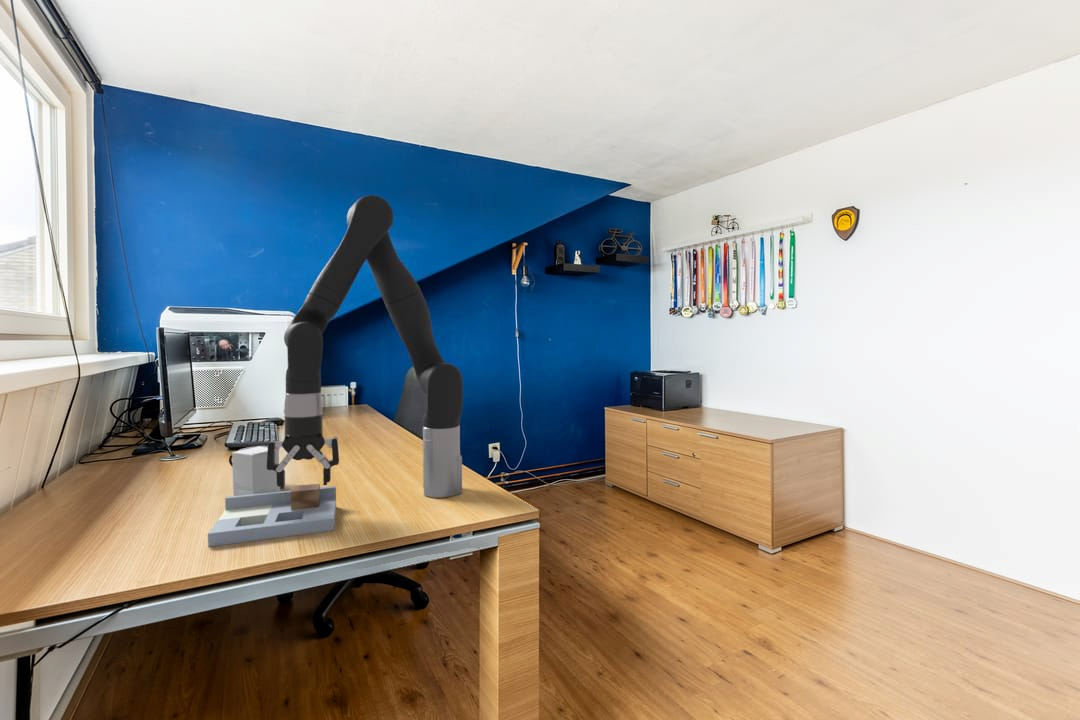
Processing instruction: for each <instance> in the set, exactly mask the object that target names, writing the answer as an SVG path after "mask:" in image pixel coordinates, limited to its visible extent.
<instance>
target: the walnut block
mask: <svg viewBox="0 0 1080 720" xmlns="http://www.w3.org/2000/svg"><path fill="white" fill-rule="evenodd" d="M320 487H321V483H311V484H300V485H293V486H292V488H291V489H290V490H291V510H299V509H308V508H317V507H319V505H320Z"/></svg>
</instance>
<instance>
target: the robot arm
mask: <svg viewBox="0 0 1080 720" xmlns="http://www.w3.org/2000/svg"><path fill="white" fill-rule="evenodd" d="M393 222H394V211H393V209H392V206H391V205H390V203H389V202H388V201H387V200H386V199H384V197H381V196H379V195H375V194H374V195H373V194H371V195H370V194H369V195H365V196H362V197H359V198H358V199H357V200H356V201H355V202H354V203H353V204H352V205H351V207H350V208H349V209H348V212H347V215H346V223H347V229H346V231H345V234H344V236H343V238H342V240H341V242H340V244H339V245H338V247H337V248H336V250H335V251H334V253H333V255H332V256H331V257H330V258H329V260H328V262H327V263H326V265H325V266H323V269H322V270H321V272H319V275H318V276H317V278H316V279H315V281H314V282H313V285H312V286H311V288H310V290H309V292H308V293H307V295H306V297H305V300H304V301H303V304H302V306H301V307H300V309H299V310H298V311H297V313H296V314H295V316H294V317H293V319H292V320H291V322H289V325H288V326H287V328H286V330H285V331H284V332H285V333H284V335H283V341H284V344H285V346H286V348H287V369H286V371H285V399H284V403H283V404H284V405H283V406H284V407H283V408H284V409H283V413H284V439H283V441H279V440H277V441H276V440H274V439H272V440H270V441H269V442H268V444H267V446H268V452H267V469H268V470H274V471H276V473H277V486H278V487H280V490H284V489H286V470H285V468H286V467H287V465H288V464H289V463H290V462H291V460H295V461H301V460H312V459H314V458H315V459H316V461H318V463H320V464H321V465H322V466H323V472H322V473H323V474H322V475H323V478H322V480H323V481H322V483H323V484H322V485H323V486H328V483H330V481H331V473H332V472H331V468H333V467H335V466H338V465H339V463H340V456H339V455H340V454H339V441H338V440H339V439H338V437H337V436H332V438H324V435H323V433H324V432H323V399H322V375H321V374H322V373H321V367H322V366H321V365H322V361H323V351H324V350H323V349H324V338H323V333H324V332H325V330H326V328H327V326H328V324H329V323H330V321H331V320H332V319H333V318H335V316H336V315H337V313H338V312H339V310H340V308H341V307H342V304H343V303H344V301H345V299H346V298H347V296H348V294H349V292H350V290H351V288H352V286H353V283H354V282H355V280H356V278H357V276H358V274H359V272H360V270H361V268H362V267H363V265H364V263H365V261H367V264H368V265H369V268H370V270H371V273H372V276H373V278H374V281H375V284H376V286H377V288H378V290H379V293H380V295H381V297H382V298H381V299H382V300H383V303H384V305H385V308H386V310H387V312H388V314H389V316H390V319H391V321H392V323H393V325H394V326H395V328H396V331H397V333H398V335H399V338H400V339H401V341H402V343H403V344H404V347H405V348H406V351H407V353H408V355H409V358H410V361H411V363H412V366H413V370H414V372H415V376H416V379H417V382H418V385H419V388H420V389H421V391H422V392H423V393H424V394H425V395H427V397H426V404H427V405H426V411H425V413H424V414H423V417H422V458H423V460H422V461H423V464H422V465H423V466H422V467H423V475H422V476H423V477H422V478H423V479H422V480H423V495H424V496H426V497H428V498H434V499H435V498H437V499H439V498H449V497H454V496H456V495H459V494H462V493H463V458H462V455H461V439H460V437H461V435H460V434H461V432H460V431H461V430H460V429H461V426H460V425H461V423H460V422H461V417H462V414H463V403H464V381H463V376H462V375H463V374H462V373H461V371H460V369H459V368H458V367H457V366H455V365H453V364H452V363H446V362H445V361H444V359H443V357H442V355H441V353H440V351H439V348H438V347H437V344H436V343H435V338H434V333H433V326H432V318H431V314H430V309H429V307H428V304H427V302H426V299H425V297H424V294H423V291H422V290H421V288H420V285H419V284H418V282H417V281H416V279H415V278H414V276H413V274H412V273H411V272H410V270H408V268H407V267H406V265H405V264H404V263H403V261H401V259H400V257H399V255H398V254H397V252H396V250H395V247H394V245H393V242H392V240H391V236H390V233H389V231H390V230H391V228H392V226H393V224H394V223H393ZM325 445H327V446H328V448H329V449H331V454H332V459H328V458H327V457H326V455H325V454H324V453H323V451H322V448H323V447H324V446H325ZM280 448H283V449H284V450H285V453H287V454H286V455H285V457H283V458H282V460H281V462H279V464H276V463H275V452H277V451H278V450H279V451H280Z"/></svg>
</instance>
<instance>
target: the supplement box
mask: <svg viewBox="0 0 1080 720" xmlns="http://www.w3.org/2000/svg"><path fill="white" fill-rule="evenodd" d="M258 446H259V447H255V446H253V447H254V448H250V449H245V450H241V451H238V450H237V451H232V452H231V455H232V466H231V467H232V490H233V491H232V493H233V495H232V496H240V495H250V494H260V493H270V492H280V491H281V489H280V487H278V486H277V473H276V471H274V470H268V469H267V452H268V447H260V446H261V445H258ZM275 463H276V464H280V449H279V450H278V451H277V452H275Z"/></svg>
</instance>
